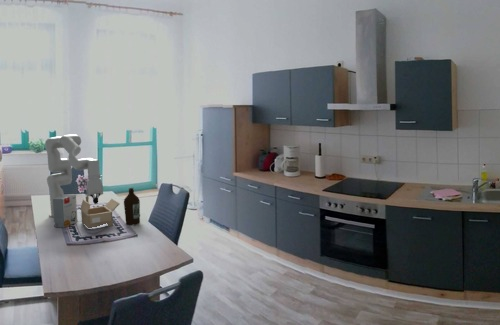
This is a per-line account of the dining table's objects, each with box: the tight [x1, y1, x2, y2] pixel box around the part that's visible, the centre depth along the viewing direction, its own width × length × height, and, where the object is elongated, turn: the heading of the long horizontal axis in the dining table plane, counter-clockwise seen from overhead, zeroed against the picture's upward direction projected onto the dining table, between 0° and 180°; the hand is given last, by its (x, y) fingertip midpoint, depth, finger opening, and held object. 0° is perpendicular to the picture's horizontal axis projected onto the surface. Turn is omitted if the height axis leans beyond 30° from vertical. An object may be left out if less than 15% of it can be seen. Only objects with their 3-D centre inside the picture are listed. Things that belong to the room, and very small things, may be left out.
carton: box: [80, 205, 114, 228], centre depth 279 cm, size 19×16×10 cm
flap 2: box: [104, 198, 120, 213], centre depth 284 cm, size 17×7×1 cm
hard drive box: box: [53, 193, 78, 228], centre depth 280 cm, size 16×8×20 cm, turn 168°
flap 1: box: [79, 199, 91, 215], centre depth 274 cm, size 17×7×1 cm
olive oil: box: [123, 187, 141, 226], centre depth 280 cm, size 11×11×25 cm
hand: (95, 203), depth 278 cm, fingers closed
